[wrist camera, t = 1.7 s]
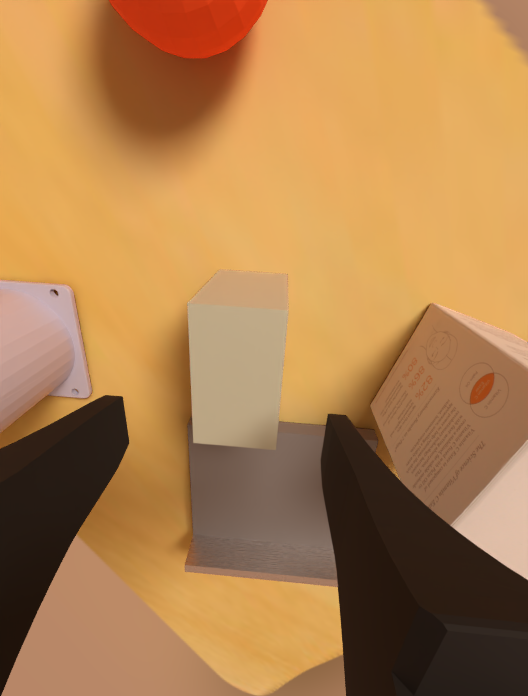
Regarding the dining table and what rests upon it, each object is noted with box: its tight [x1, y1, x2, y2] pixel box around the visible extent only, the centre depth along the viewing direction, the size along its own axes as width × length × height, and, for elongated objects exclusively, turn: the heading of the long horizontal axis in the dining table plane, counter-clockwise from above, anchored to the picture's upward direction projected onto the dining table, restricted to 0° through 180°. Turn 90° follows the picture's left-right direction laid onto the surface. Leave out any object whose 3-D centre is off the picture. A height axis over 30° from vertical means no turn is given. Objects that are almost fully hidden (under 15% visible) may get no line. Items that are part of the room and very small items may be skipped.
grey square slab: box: [185, 416, 378, 587], centre depth 24 cm, size 13×12×4 cm
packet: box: [187, 269, 288, 450], centre depth 18 cm, size 4×7×7 cm, turn 177°
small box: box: [370, 303, 528, 580], centre depth 16 cm, size 8×6×10 cm
